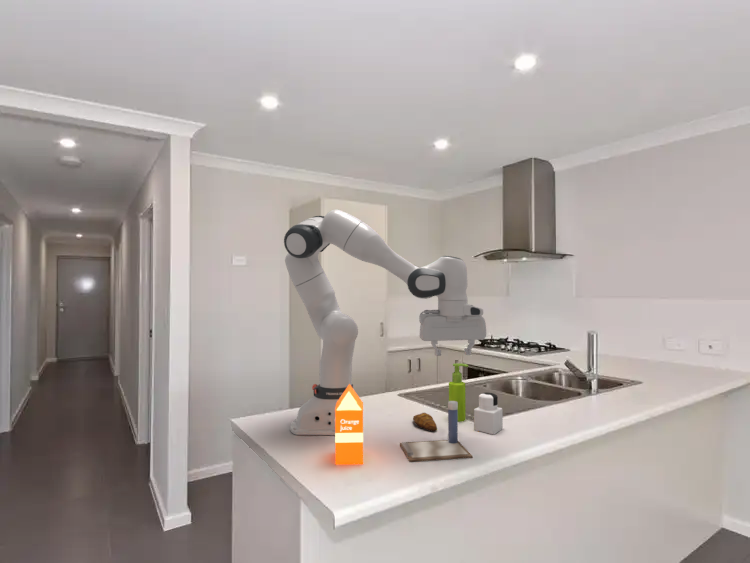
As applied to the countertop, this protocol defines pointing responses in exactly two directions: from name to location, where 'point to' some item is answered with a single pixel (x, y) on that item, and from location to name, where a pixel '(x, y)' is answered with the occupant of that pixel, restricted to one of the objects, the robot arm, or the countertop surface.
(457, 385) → the soap dispenser
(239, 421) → the countertop surface
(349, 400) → the orange juice
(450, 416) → the marker
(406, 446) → the metal serving tray
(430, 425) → the croissant
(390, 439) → the countertop surface
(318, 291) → the robot arm
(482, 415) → the medicine bottle
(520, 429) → the countertop surface
